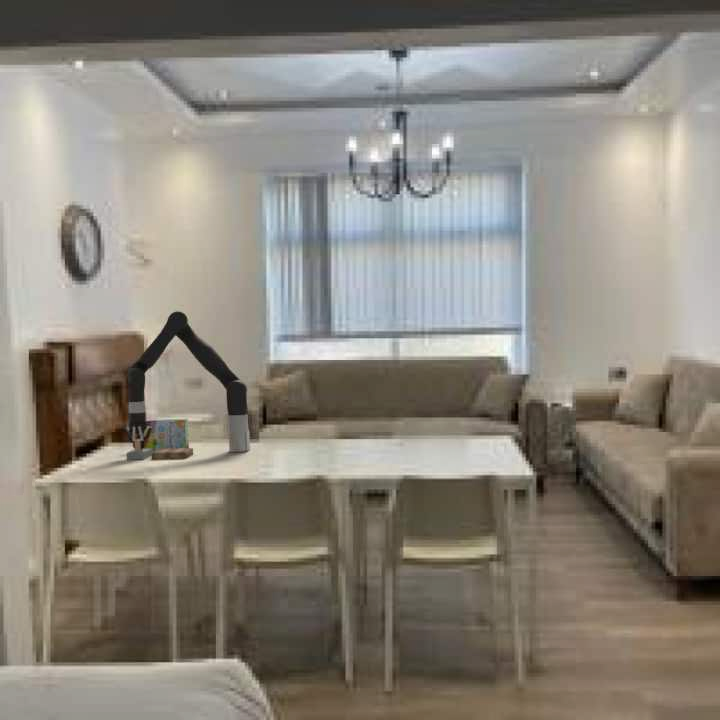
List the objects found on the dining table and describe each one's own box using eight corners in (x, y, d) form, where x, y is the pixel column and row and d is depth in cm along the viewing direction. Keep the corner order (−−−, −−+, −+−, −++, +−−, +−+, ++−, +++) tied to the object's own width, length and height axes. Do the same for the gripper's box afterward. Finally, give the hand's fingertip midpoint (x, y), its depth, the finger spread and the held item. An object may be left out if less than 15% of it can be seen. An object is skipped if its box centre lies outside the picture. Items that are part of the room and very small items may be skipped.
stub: (151, 455, 427) (151, 437, 427) (144, 459, 415) (143, 441, 415) (135, 455, 428) (134, 438, 427) (126, 459, 416) (126, 442, 415)
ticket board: (193, 454, 426) (192, 447, 426) (186, 458, 414) (186, 451, 414) (159, 455, 427) (158, 448, 427) (151, 459, 415) (151, 452, 415)
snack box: (189, 449, 445) (188, 418, 444) (186, 450, 439) (184, 419, 438) (147, 449, 447) (145, 419, 446) (143, 451, 441) (141, 420, 440)
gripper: (154, 410, 424) (156, 447, 424) (125, 410, 424) (126, 448, 425) (149, 411, 416) (151, 449, 417) (119, 412, 417) (121, 450, 418)
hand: (139, 448), depth 421 cm, fingers closed on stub, 2 cm apart
